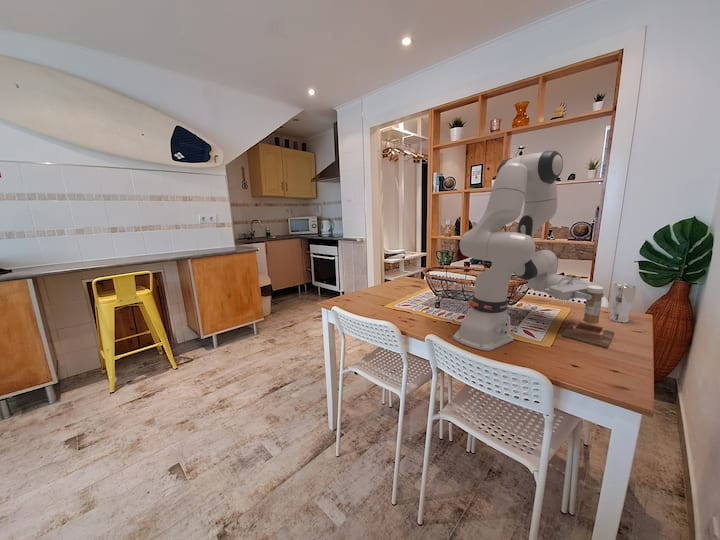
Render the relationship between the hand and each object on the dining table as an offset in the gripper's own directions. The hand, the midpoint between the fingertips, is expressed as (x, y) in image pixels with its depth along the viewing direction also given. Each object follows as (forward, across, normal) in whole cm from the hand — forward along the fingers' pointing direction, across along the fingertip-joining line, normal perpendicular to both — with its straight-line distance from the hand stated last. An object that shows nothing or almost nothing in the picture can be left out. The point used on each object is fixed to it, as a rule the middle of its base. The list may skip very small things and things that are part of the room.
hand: (597, 296), depth 101 cm
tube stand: (-1, 0, +15) cm, 15 cm away
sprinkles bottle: (-1, 0, +10) cm, 10 cm away
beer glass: (-6, +26, +16) cm, 31 cm away
